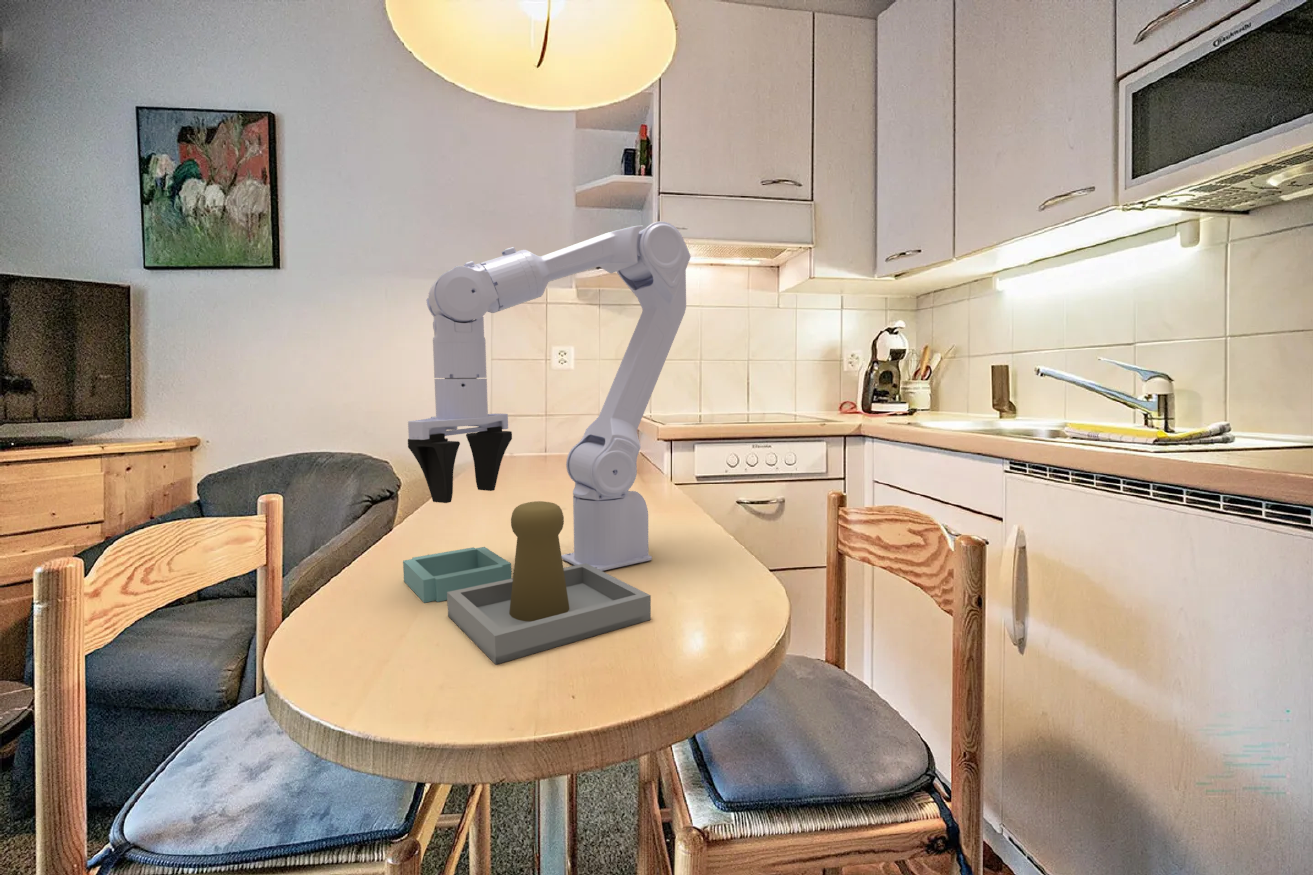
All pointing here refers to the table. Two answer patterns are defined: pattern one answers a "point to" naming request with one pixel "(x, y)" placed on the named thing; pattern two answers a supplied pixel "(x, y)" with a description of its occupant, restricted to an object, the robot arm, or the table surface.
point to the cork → (538, 562)
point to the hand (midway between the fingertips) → (465, 495)
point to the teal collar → (453, 572)
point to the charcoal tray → (591, 613)
